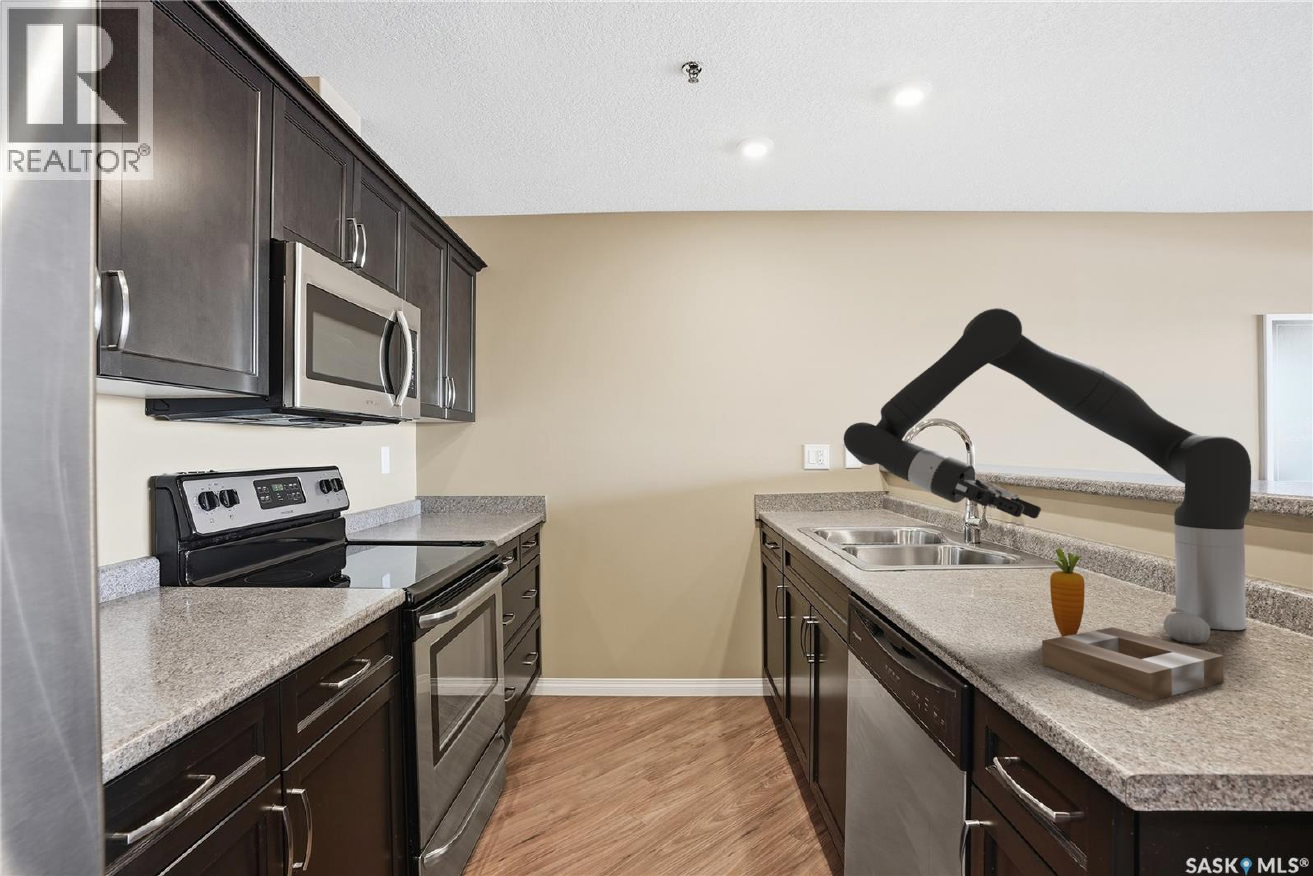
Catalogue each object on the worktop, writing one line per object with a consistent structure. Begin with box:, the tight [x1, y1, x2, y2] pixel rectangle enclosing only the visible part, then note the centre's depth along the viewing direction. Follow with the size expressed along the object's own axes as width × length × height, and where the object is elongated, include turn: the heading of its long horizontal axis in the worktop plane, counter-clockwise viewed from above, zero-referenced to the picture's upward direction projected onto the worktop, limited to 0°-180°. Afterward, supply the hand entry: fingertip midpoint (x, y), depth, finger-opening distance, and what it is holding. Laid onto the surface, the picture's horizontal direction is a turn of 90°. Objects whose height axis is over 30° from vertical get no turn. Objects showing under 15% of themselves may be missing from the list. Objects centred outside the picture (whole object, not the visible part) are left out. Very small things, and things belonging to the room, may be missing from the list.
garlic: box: [1163, 607, 1211, 644], centre depth 100 cm, size 6×5×5 cm
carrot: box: [1049, 548, 1086, 637], centre depth 99 cm, size 5×5×15 cm
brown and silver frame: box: [1041, 626, 1225, 702], centre depth 86 cm, size 16×14×4 cm
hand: (1030, 512), depth 103 cm, fingers open, 8 cm apart
